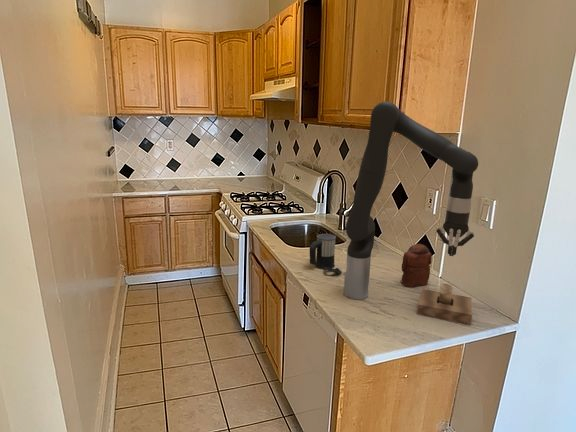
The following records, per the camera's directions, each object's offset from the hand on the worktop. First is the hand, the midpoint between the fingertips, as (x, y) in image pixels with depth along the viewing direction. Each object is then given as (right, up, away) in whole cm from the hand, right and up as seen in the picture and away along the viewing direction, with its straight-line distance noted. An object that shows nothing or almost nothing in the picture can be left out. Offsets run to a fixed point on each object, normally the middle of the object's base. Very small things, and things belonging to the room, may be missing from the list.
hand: (451, 255), depth 141 cm
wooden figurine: (-5, -15, +26) cm, 31 cm away
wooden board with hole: (-1, -21, +4) cm, 21 cm away
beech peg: (-1, -21, +4) cm, 22 cm away
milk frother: (-40, -11, +41) cm, 58 cm away
